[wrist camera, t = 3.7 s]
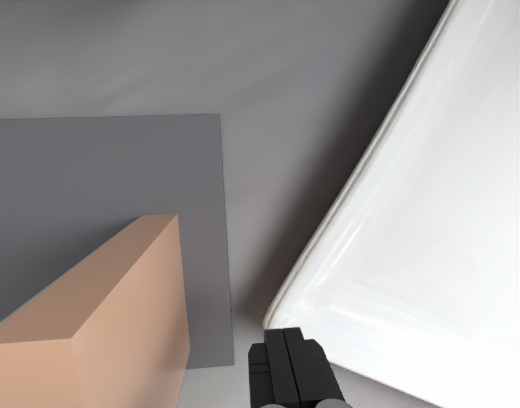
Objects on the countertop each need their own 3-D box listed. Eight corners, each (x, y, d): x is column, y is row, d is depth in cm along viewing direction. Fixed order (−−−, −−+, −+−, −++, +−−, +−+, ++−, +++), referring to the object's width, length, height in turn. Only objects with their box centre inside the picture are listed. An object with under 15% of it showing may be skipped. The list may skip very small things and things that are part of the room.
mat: (219, 114, 16) (219, 113, 16) (234, 359, 20) (234, 365, 19) (-212, 126, 15) (-226, 125, 14) (-117, 388, 18) (-126, 395, 18)
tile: (177, 213, 17) (71, 338, 6) (190, 348, 19) (126, 625, 8) (133, 215, 17) (-56, 347, 6) (150, 351, 19) (31, 638, 8)
